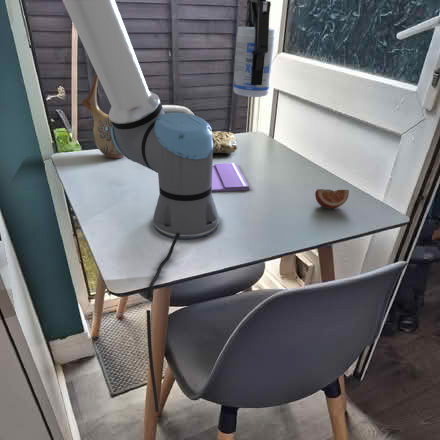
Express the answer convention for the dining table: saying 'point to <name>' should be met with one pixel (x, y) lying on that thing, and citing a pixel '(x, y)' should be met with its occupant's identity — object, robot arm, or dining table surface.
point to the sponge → (224, 142)
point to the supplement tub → (245, 63)
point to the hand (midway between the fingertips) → (251, 80)
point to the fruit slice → (331, 197)
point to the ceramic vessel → (101, 125)
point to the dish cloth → (228, 178)
